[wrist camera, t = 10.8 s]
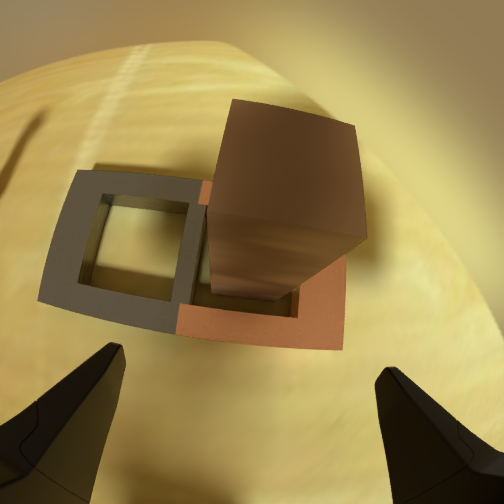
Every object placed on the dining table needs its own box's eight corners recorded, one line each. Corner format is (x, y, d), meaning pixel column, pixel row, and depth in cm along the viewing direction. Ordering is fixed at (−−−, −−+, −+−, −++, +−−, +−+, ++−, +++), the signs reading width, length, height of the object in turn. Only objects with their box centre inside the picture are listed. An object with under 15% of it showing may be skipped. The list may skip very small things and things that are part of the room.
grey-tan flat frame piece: (334, 215, 23) (344, 204, 21) (330, 349, 19) (342, 350, 17) (85, 181, 21) (77, 169, 19) (50, 304, 17) (37, 300, 15)
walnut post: (279, 243, 21) (354, 125, 9) (274, 301, 20) (367, 238, 7) (220, 234, 21) (232, 98, 8) (211, 293, 19) (207, 211, 7)
